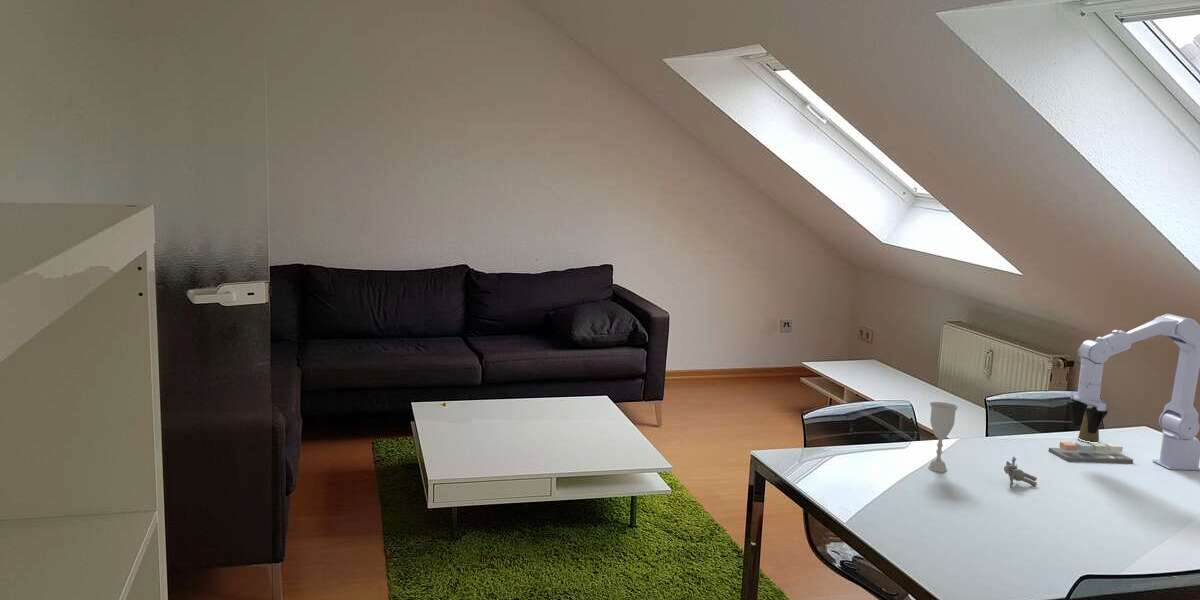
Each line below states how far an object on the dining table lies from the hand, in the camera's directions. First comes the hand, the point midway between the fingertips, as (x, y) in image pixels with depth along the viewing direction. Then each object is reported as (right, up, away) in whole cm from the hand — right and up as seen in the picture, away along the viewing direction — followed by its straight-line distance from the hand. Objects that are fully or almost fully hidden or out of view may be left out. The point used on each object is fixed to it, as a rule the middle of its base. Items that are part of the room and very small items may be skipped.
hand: (1084, 429), depth 277 cm
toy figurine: (-28, -12, -20) cm, 37 cm away
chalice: (-46, -10, -11) cm, 48 cm away
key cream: (+13, -7, +9) cm, 17 cm away
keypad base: (+6, -9, +9) cm, 14 cm away
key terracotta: (-1, -7, +8) cm, 11 cm away
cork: (+15, -7, +27) cm, 32 cm away
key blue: (+4, -7, +8) cm, 12 cm away
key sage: (+8, -7, +9) cm, 14 cm away
